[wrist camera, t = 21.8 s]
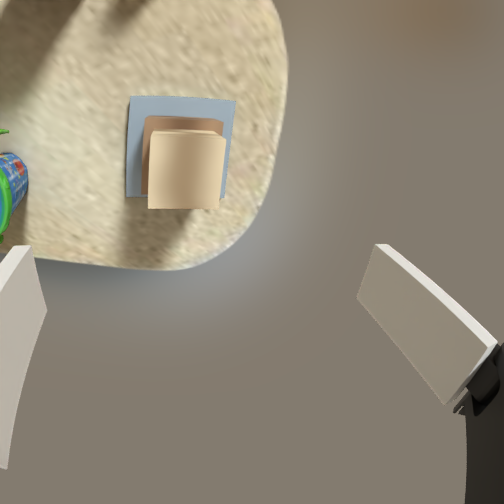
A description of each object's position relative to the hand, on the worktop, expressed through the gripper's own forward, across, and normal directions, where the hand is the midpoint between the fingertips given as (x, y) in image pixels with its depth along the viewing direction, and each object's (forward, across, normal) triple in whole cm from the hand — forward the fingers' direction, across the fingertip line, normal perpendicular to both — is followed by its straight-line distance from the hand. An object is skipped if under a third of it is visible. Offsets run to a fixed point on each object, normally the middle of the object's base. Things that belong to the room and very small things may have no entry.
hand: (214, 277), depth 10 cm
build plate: (+31, 0, 0) cm, 31 cm away
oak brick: (+22, 0, 0) cm, 22 cm away
